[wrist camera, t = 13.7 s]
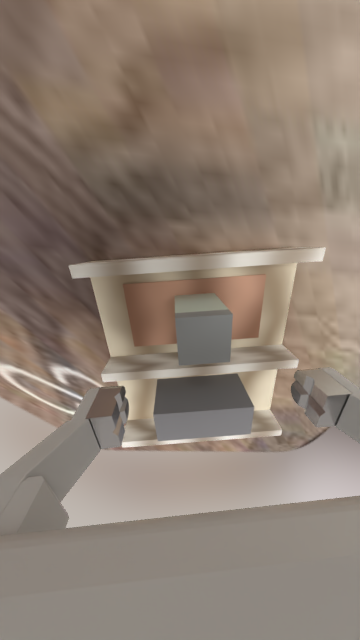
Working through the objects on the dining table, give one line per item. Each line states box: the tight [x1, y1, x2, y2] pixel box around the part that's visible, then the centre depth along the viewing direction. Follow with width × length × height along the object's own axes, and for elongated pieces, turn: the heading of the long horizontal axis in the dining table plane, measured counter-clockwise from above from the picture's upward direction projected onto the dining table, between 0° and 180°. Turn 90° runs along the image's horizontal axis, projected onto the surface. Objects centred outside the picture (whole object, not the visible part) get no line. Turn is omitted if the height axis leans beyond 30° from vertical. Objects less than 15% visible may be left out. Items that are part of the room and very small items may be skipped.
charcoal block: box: [153, 373, 254, 441], centre depth 20 cm, size 10×4×5 cm, turn 94°
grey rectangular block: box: [175, 293, 233, 366], centre depth 16 cm, size 4×4×6 cm
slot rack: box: [68, 247, 325, 447], centre depth 20 cm, size 20×22×4 cm
